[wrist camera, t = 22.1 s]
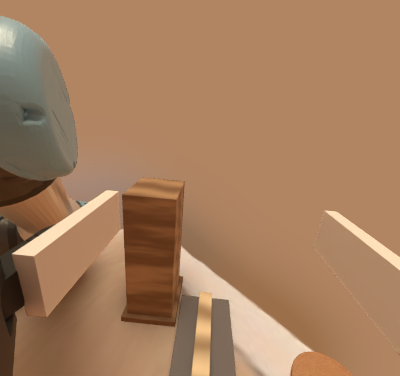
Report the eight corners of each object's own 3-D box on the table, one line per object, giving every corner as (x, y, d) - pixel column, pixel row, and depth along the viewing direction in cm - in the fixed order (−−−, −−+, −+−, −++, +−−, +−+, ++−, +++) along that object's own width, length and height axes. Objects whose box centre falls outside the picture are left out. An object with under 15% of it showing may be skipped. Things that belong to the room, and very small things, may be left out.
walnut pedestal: (174, 326, 46) (181, 202, 36) (121, 320, 46) (114, 196, 36) (182, 280, 59) (189, 180, 49) (141, 275, 59) (140, 175, 50)
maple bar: (204, 467, 27) (206, 455, 26) (182, 463, 27) (183, 451, 26) (210, 302, 52) (211, 293, 51) (198, 300, 52) (199, 291, 51)
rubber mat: (241, 438, 30) (241, 436, 30) (160, 428, 30) (160, 426, 30) (228, 301, 53) (228, 300, 53) (182, 297, 53) (182, 295, 53)
